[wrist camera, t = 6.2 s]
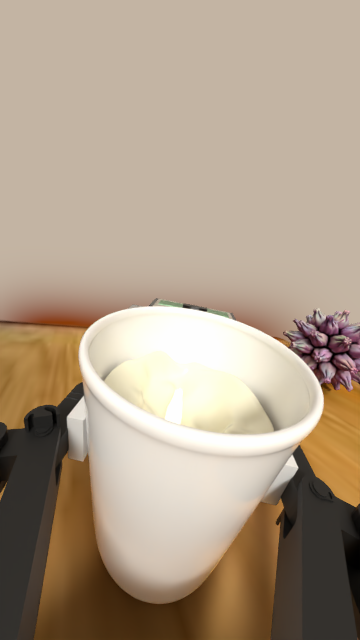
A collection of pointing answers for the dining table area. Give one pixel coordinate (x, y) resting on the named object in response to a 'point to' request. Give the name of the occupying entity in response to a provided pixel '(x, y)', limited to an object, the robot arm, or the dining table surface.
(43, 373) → the dining table surface
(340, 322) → the flower
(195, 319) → the white cream cup
